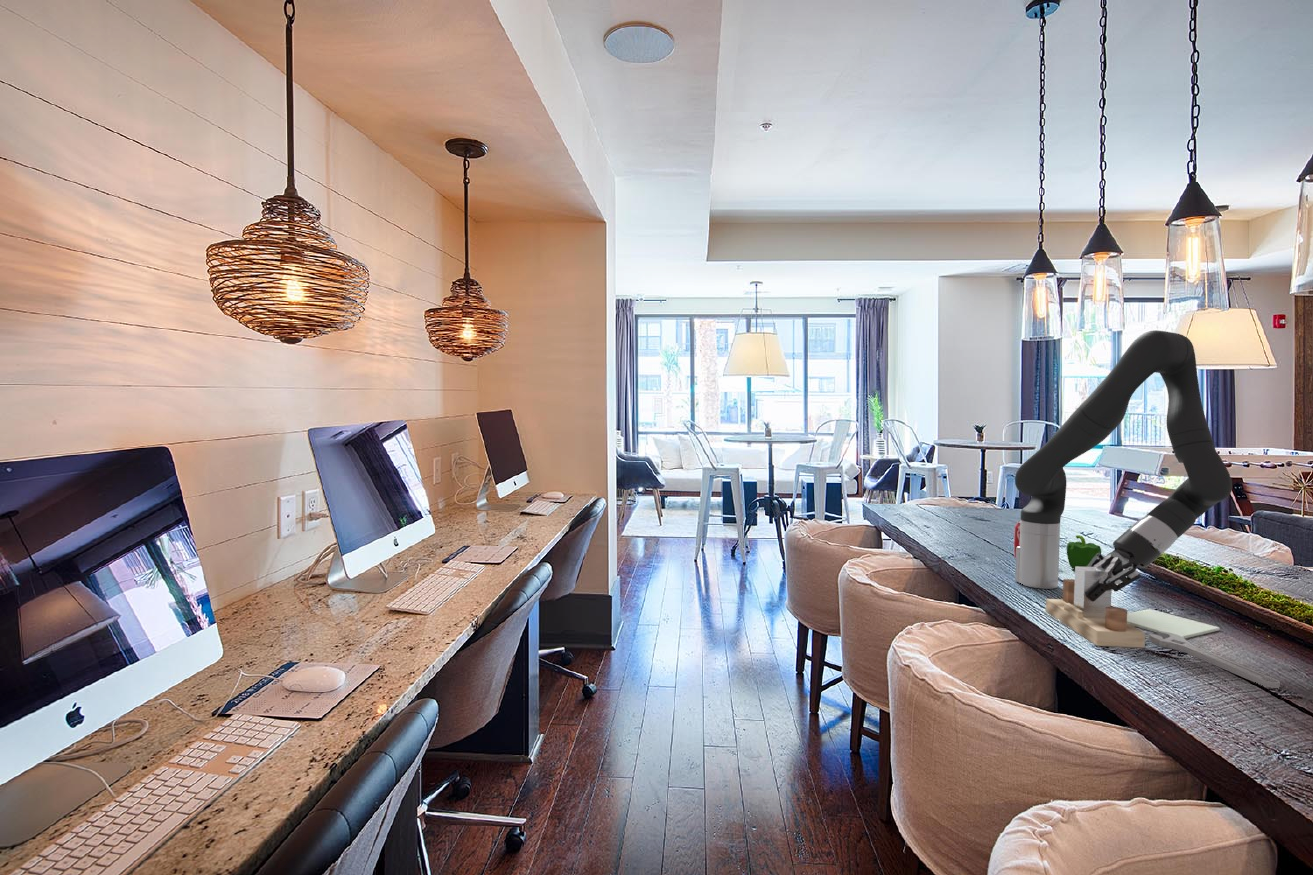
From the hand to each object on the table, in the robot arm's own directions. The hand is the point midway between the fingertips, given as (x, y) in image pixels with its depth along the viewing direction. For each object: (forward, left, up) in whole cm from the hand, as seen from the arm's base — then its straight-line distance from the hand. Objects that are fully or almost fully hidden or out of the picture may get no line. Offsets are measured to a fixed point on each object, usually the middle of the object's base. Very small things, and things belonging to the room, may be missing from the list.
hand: (1083, 594), depth 145 cm
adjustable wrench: (+21, +4, -8) cm, 23 cm away
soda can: (-47, +45, -7) cm, 65 cm away
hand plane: (+1, +2, -7) cm, 7 cm away
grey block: (+1, +2, -4) cm, 5 cm away
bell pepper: (-32, +49, -8) cm, 59 cm away
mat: (+6, +19, -7) cm, 21 cm away
